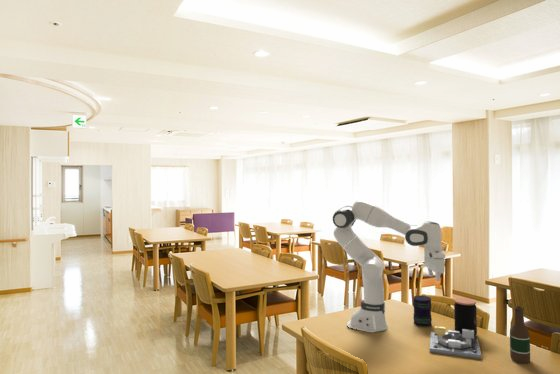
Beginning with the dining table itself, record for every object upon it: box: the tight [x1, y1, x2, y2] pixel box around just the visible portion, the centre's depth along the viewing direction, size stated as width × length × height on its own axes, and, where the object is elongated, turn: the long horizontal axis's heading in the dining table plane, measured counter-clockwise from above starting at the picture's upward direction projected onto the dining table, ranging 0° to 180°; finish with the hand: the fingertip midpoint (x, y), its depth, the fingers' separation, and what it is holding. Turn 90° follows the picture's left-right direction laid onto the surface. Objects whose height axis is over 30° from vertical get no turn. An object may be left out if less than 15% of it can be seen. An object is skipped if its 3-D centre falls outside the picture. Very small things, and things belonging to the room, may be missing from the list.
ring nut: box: [434, 325, 474, 349], centre depth 191 cm, size 18×15×6 cm
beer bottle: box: [509, 305, 531, 365], centre depth 175 cm, size 8×8×24 cm
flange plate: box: [429, 331, 482, 360], centre depth 191 cm, size 22×22×6 cm
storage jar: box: [412, 295, 433, 328], centre depth 223 cm, size 10×10×15 cm
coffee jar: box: [453, 297, 478, 337], centre depth 206 cm, size 11×11×18 cm
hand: (434, 278), depth 204 cm, fingers open, 8 cm apart
